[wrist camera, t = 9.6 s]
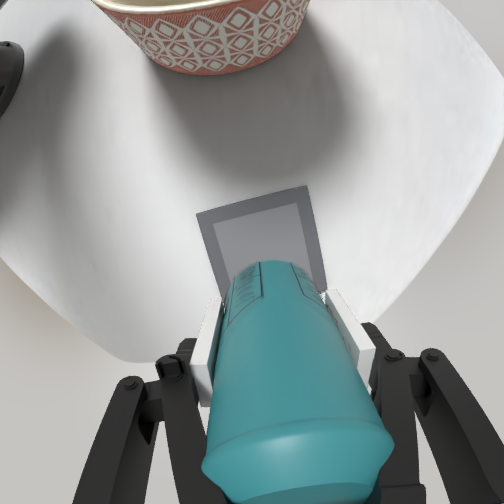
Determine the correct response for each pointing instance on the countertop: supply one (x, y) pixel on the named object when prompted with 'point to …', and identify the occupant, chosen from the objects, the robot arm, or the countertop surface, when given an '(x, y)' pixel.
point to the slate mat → (262, 236)
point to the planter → (208, 31)
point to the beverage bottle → (289, 399)
